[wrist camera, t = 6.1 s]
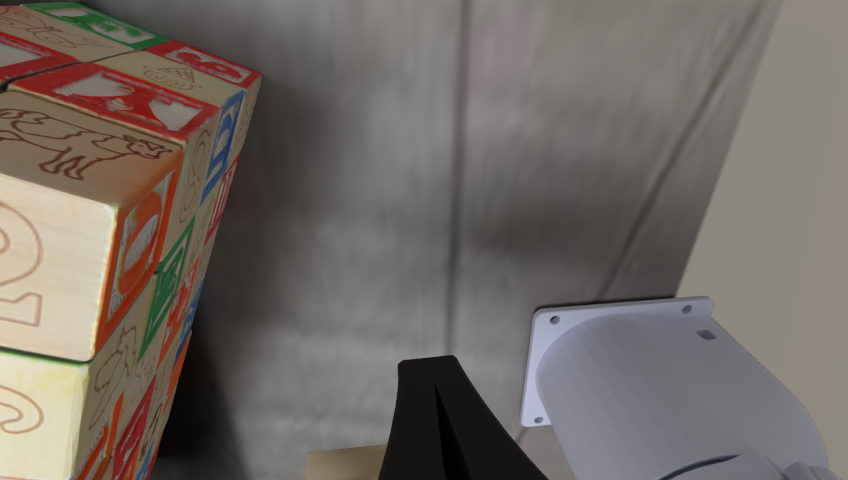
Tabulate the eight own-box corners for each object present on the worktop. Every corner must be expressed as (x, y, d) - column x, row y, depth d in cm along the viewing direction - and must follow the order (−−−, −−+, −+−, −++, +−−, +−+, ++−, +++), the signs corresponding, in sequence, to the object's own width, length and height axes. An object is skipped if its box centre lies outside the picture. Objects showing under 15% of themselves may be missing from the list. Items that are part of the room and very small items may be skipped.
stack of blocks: (161, 457, 26) (21, 800, 15) (26, 437, 24) (-243, 810, 13) (265, 69, 17) (118, 210, 7) (70, -7, 16) (-573, 15, 5)
